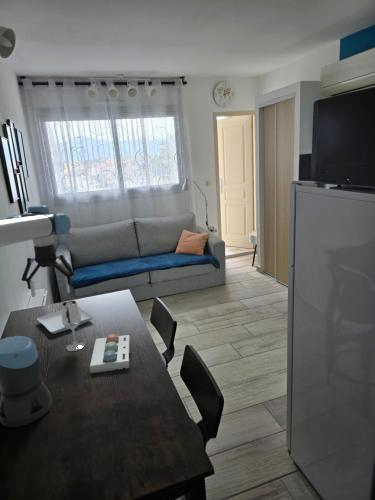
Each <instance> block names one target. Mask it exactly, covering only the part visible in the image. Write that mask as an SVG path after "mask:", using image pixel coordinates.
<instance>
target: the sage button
mask: <svg viewBox="0 0 375 500" xmlns="http://www.w3.org/2000/svg"><path fill="white" fill-rule="evenodd" d="M105 349H106V352H107V351H110V350H112V351H115V352H116V351H117V345H116V343H115V342H108V343H106V344H105Z"/></svg>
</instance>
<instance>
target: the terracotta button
mask: <svg viewBox="0 0 375 500" xmlns="http://www.w3.org/2000/svg"><path fill="white" fill-rule="evenodd" d="M117 336H118V335H117V334H116V333H109V334H108V335H107V336H106V337H105V338H107V343H108V342H115V343H118V339H117Z"/></svg>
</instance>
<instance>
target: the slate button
mask: <svg viewBox="0 0 375 500" xmlns="http://www.w3.org/2000/svg"><path fill="white" fill-rule="evenodd" d="M115 361H116V354H115V351H112V350H110V351H107V352H105V353H104V362H105V363H107V362H115Z"/></svg>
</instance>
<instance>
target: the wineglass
mask: <svg viewBox="0 0 375 500" xmlns="http://www.w3.org/2000/svg"><path fill="white" fill-rule="evenodd" d="M78 307H79V305H78V303H77V301H76V300H67V301H64V302H63V303H62V304H61V310H62V313H61V320H62V324H63V326H65V327H66V328H68V330H71V332H72V336H73V342H71V343H69V344H67V346H66V350H67V351H68V352H76V351H79V350H82V349H83V348H84V347H85V345H86V344H85V342H84V341H78V340H77V341H76V335H75V329H76V328H78V327H79V326H80V325H79V324H80V323H81V314H80V310H79V308H78Z"/></svg>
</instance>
